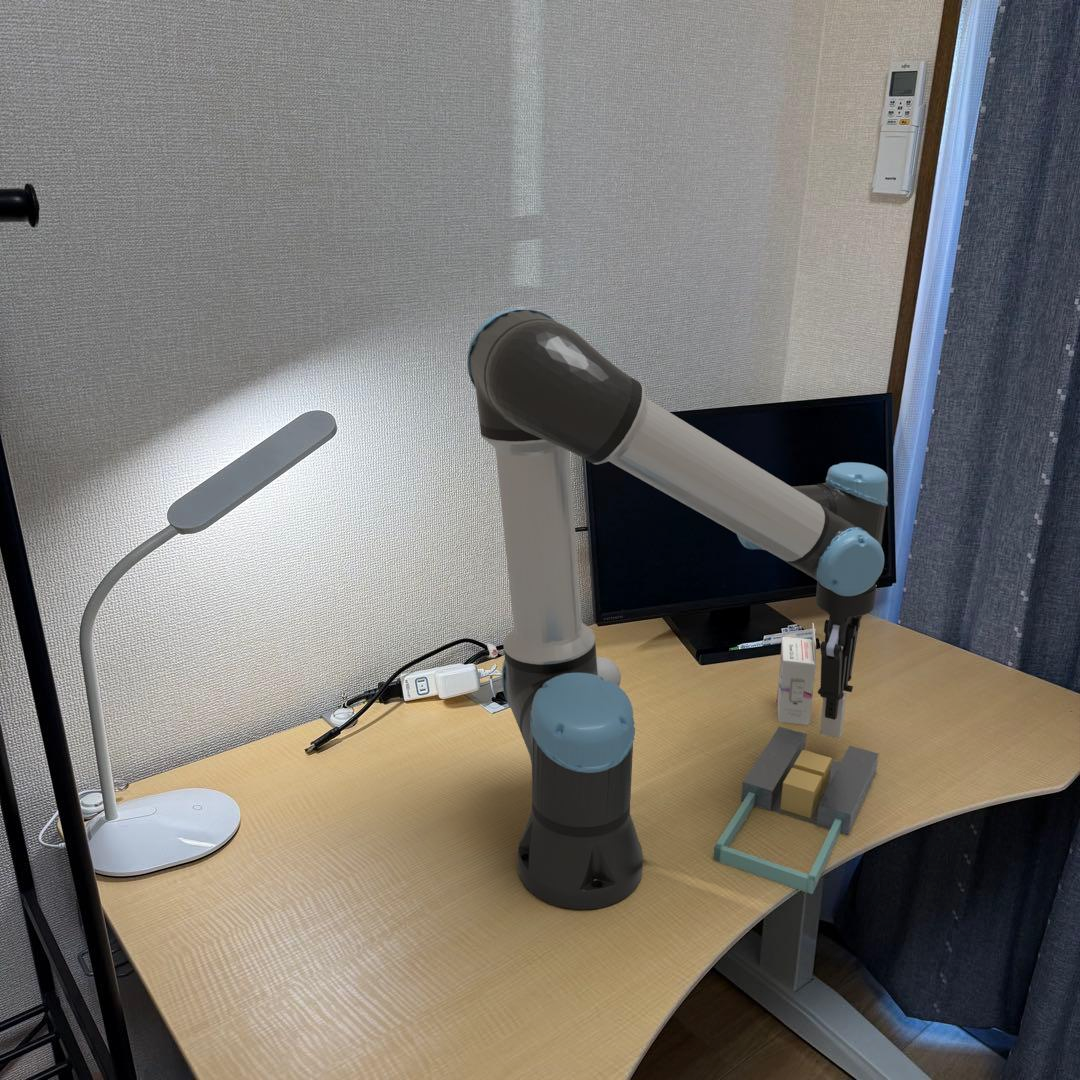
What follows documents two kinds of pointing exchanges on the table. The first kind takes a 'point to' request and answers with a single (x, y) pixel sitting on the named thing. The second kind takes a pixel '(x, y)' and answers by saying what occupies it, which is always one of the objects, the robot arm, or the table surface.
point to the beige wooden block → (815, 766)
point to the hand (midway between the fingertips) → (830, 733)
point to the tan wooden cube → (801, 792)
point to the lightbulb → (608, 670)
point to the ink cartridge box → (796, 679)
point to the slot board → (840, 794)
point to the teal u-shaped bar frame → (766, 867)
